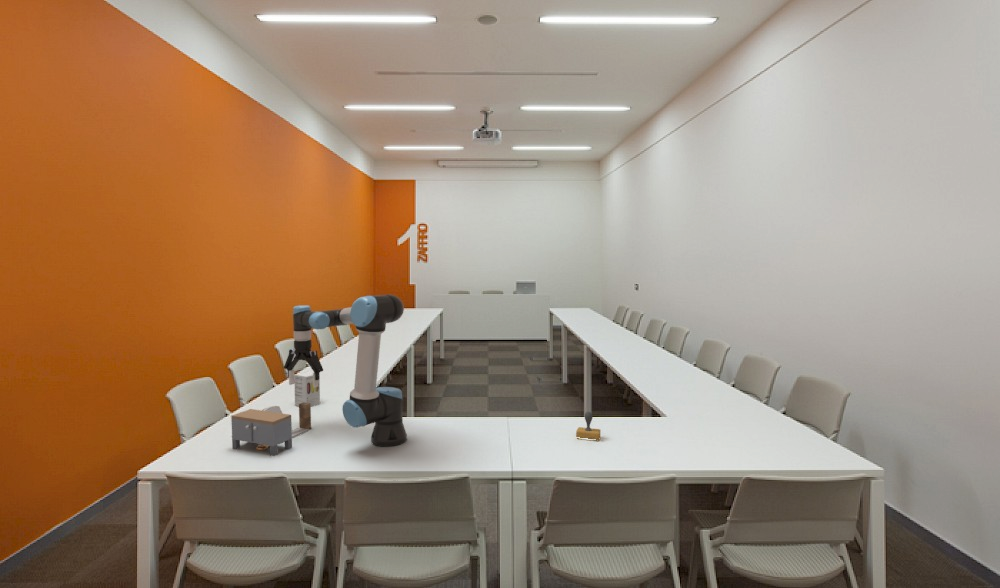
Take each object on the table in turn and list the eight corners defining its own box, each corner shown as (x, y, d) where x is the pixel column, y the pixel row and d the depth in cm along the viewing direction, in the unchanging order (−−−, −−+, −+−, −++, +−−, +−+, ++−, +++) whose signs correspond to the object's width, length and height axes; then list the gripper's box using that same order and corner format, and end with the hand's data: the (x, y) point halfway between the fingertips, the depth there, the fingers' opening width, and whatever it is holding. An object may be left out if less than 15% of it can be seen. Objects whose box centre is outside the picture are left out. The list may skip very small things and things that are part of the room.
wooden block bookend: (312, 428, 243) (312, 403, 242) (279, 443, 224) (278, 416, 223) (302, 427, 245) (301, 402, 244) (268, 442, 226) (267, 414, 225)
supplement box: (306, 408, 275) (305, 376, 274) (294, 405, 279) (293, 374, 278) (320, 404, 283) (320, 373, 282) (308, 401, 288) (308, 371, 286)
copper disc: (270, 447, 220) (270, 445, 220) (262, 451, 216) (262, 448, 216) (262, 446, 222) (262, 443, 222) (253, 450, 218) (253, 447, 218)
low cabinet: (292, 447, 220) (291, 414, 219) (272, 456, 210) (271, 422, 209) (251, 440, 227) (250, 408, 226) (230, 449, 217) (229, 416, 216)
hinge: (268, 432, 238) (260, 411, 238) (259, 435, 239) (251, 414, 239) (288, 420, 255) (281, 401, 254) (279, 423, 255) (272, 404, 255)
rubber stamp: (576, 439, 231) (576, 412, 231) (578, 434, 237) (578, 408, 236) (598, 441, 228) (599, 414, 228) (600, 437, 234) (600, 410, 233)
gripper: (330, 340, 238) (331, 386, 240) (286, 336, 247) (288, 381, 249) (319, 342, 231) (320, 390, 233) (274, 339, 240) (276, 384, 242)
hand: (303, 385), depth 241 cm, fingers open, 13 cm apart
